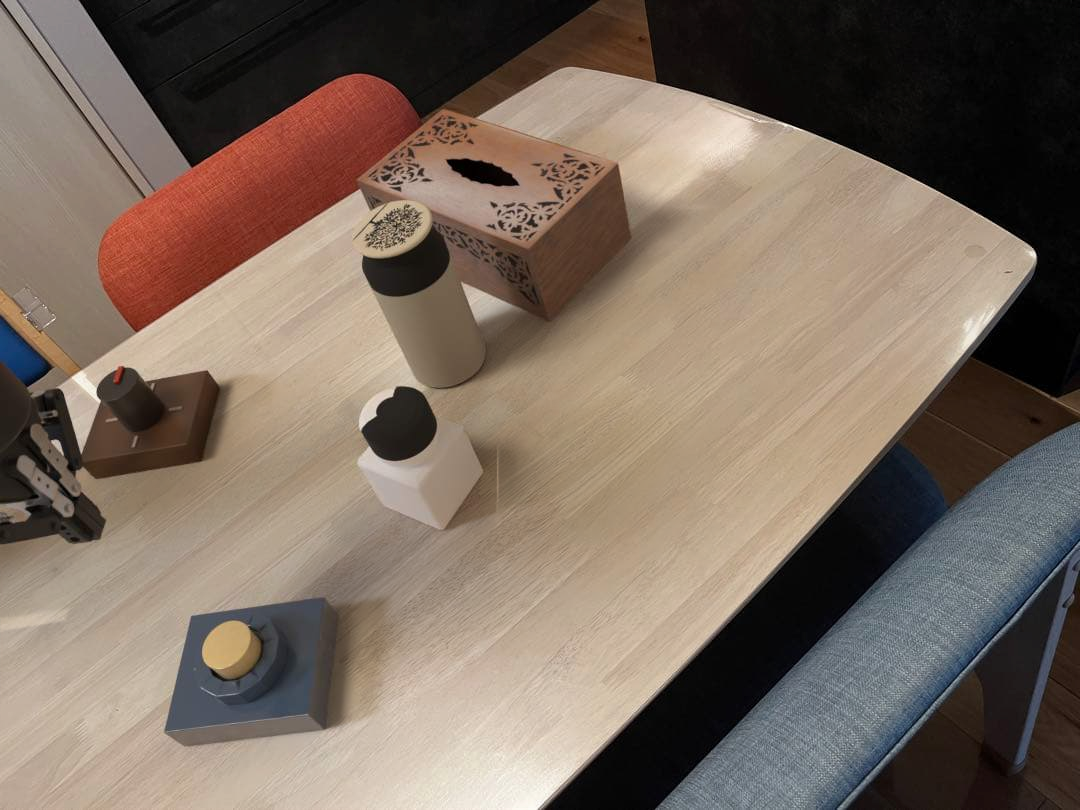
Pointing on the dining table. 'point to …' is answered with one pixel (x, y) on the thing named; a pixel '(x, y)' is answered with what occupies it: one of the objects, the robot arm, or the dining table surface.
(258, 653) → the tan button cap
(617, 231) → the tissue box cover
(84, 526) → the robot arm
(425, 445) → the medicine bottle
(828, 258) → the dining table surface
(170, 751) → the dining table surface
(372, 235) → the travel mug
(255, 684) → the button housing
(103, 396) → the dial
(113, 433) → the dial panel
